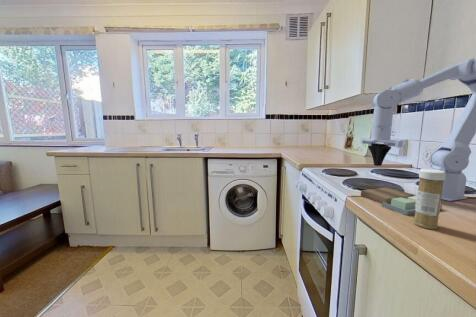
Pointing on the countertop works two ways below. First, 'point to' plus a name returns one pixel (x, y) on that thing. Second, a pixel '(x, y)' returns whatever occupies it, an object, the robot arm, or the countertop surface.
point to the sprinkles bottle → (429, 198)
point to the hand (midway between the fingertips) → (377, 165)
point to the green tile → (403, 203)
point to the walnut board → (384, 194)
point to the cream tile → (413, 198)
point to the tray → (400, 210)
